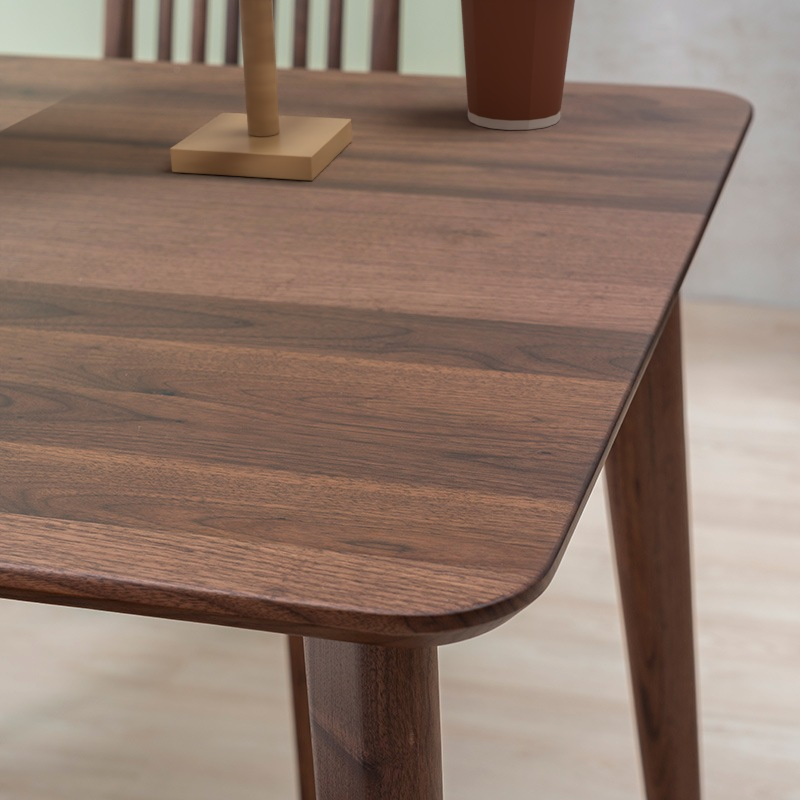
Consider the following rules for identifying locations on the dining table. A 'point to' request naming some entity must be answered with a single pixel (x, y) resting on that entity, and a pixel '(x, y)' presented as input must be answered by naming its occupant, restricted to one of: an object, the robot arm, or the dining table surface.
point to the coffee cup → (515, 61)
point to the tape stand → (261, 121)
